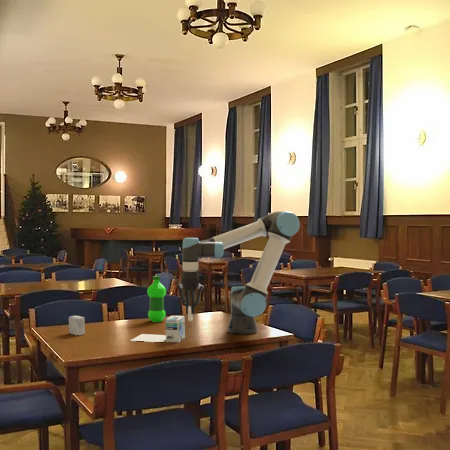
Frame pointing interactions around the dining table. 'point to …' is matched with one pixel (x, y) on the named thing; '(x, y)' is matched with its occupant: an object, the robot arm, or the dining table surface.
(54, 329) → the dining table surface
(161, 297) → the plastic bottle
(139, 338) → the mat
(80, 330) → the medicine box
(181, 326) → the light bulb box
